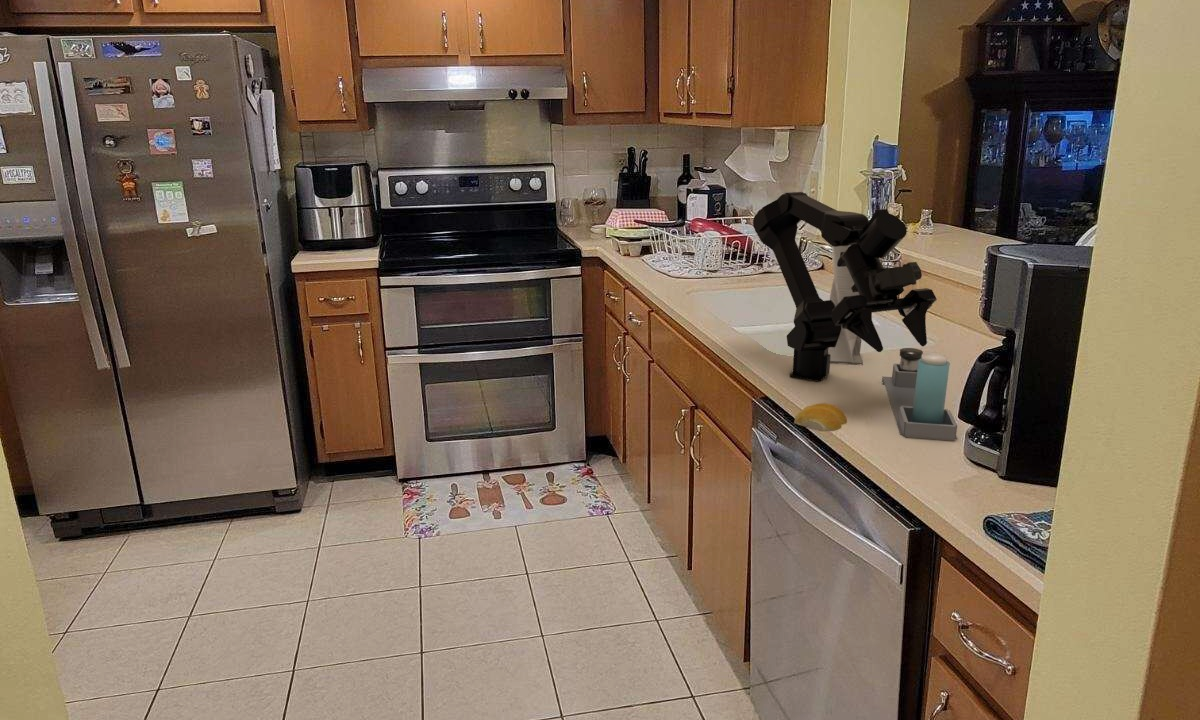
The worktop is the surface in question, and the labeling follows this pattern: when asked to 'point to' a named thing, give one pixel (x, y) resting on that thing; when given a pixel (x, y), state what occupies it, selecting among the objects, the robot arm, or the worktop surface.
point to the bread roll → (821, 417)
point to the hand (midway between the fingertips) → (903, 348)
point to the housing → (902, 406)
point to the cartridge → (930, 388)
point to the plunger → (910, 359)
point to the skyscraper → (847, 341)
